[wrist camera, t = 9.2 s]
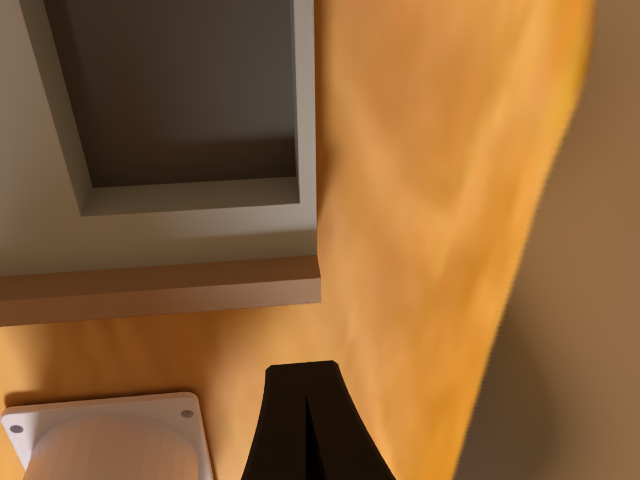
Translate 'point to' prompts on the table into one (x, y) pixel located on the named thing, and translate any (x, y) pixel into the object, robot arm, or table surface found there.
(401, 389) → the table surface
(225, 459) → the table surface
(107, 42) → the grey long tray
